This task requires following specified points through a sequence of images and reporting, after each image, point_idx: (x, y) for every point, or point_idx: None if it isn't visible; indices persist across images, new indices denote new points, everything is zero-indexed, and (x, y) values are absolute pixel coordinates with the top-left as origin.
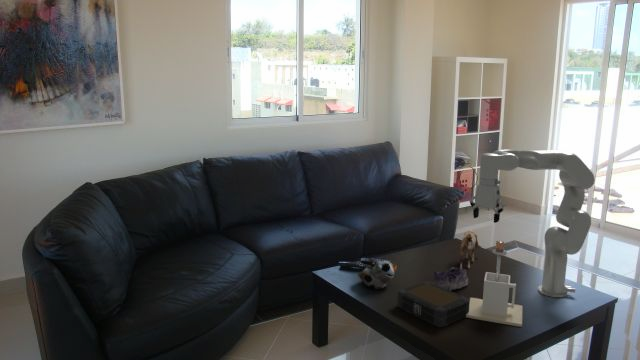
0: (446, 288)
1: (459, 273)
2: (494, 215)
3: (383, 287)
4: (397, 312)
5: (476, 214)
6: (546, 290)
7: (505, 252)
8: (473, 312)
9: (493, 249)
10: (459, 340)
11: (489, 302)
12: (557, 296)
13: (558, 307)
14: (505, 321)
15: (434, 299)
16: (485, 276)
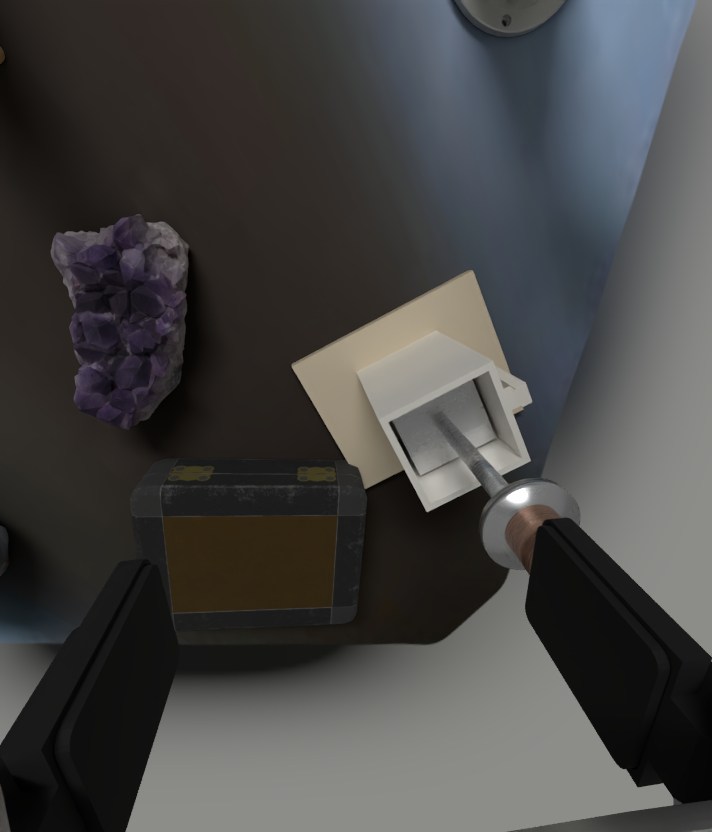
0: (174, 380)
1: (151, 300)
2: (613, 744)
3: (8, 538)
4: None
5: (151, 681)
6: (505, 2)
7: (575, 519)
8: (371, 460)
9: (484, 532)
10: (422, 590)
11: None
12: (554, 13)
13: (577, 135)
14: None
15: (283, 586)
16: (406, 469)
